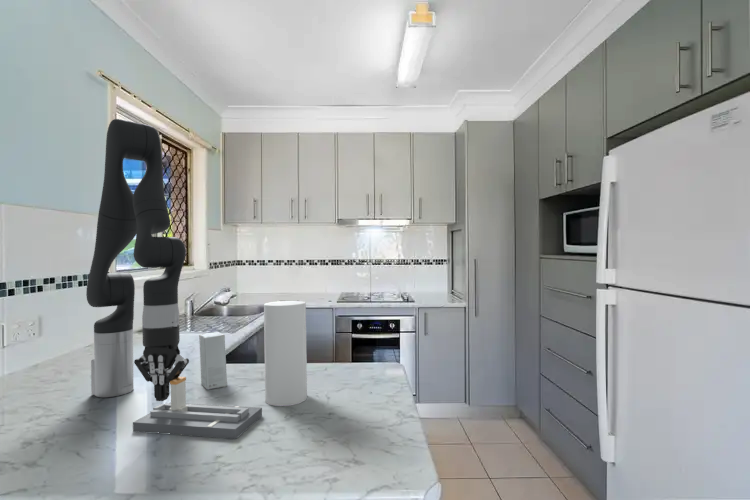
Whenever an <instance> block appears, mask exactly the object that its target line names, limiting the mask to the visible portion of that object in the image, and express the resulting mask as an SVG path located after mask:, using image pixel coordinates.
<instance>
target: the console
mask: <svg viewBox="0 0 750 500" xmlns="http://www.w3.org/2000/svg"><path fill="white" fill-rule="evenodd" d="M186 405H187V406H188V411H187V412H186V411H170V410H169V408H171V401H170V402H168V403H167V402H166V403H160V404H158V405H157V406H154V407H152V410H151V411H149V413H148V414H146V415H144V416H142V417H140V418H138V419H136V420H134V421H132V432H133V433H134V432H136V433H146V432H159V433H158V434H160V433H170V434H169V435H174V434H182V435H181V436H187V435H192V436H191V437H201V436H202V438H204V437H205V438H216V439H218V438H219V439H231V440H237V438H238V437H240V436H241V435H242V434H243V433H244V432H246V431H247V430H248V429H249V428H250V427H251V426H253V425H254V424H255V423H256V422H257V421H258V420H259V419H261V418H262V417H263V407H260V406H259V407H257V406H238V405H224V404H223V405H222V404H221V405H219V404H201V403H187V402H186Z"/></svg>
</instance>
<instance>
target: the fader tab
mask: <svg viewBox="0 0 750 500" xmlns="http://www.w3.org/2000/svg"><path fill="white" fill-rule="evenodd" d="M186 381H187V377H186V376H179V377H178V378H176V379H174V380H172V381H170V383H169V385H170V402H171V408H169V410H170V411H186V412H187V411H188V406H187V405H186V403H187V400H186V398H187V397H186Z"/></svg>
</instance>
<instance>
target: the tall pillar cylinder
mask: <svg viewBox="0 0 750 500" xmlns="http://www.w3.org/2000/svg"><path fill="white" fill-rule="evenodd" d="M306 303H307V302H306V301H304V300H303V301H302V300H279V301H269V302H265V303H264V304H263V325H264V327H263V328H264V330H263V333H264V334H263V335H264V338H263V339H264V399H265V403H266V404H267V405H270V406H273V407H288V406H289V407H290V406H294V405H298V404H301V403H303V402H305V401H306V400H307V399H308V377H307V376H308V374H307V373H308V371H307V369H308V368H307V367H308V366H307V365H308V364H307V304H306Z"/></svg>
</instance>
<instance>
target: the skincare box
mask: <svg viewBox="0 0 750 500" xmlns="http://www.w3.org/2000/svg"><path fill="white" fill-rule="evenodd" d="M198 336H199V358H200V359H199V360H200V361H199V362H200V363H199V364H200V383H201V385H202V386H203V387H204V388H205V389H206V390H211V389H212V390H213V389H218V388H219V389H220V388H225V387H228V375H227V358H226V354H227V353H226V335H225V334H223V333H221V332H219V331H215V332H208V333H201V334H198Z"/></svg>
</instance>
